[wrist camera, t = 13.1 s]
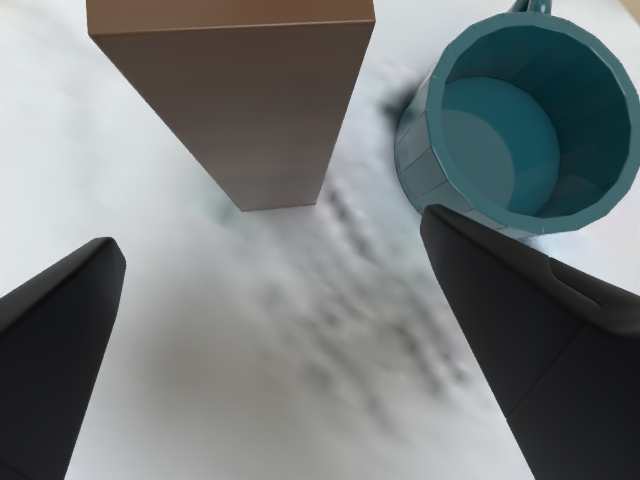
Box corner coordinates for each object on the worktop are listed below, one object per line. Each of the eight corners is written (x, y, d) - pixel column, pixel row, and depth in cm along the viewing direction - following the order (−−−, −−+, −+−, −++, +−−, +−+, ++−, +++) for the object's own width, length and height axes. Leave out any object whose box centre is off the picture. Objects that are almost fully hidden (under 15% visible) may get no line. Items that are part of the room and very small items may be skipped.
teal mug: (552, 258, 18) (635, 254, 14) (380, 222, 18) (409, 206, 13) (575, 49, 20) (657, -15, 15) (416, 10, 19) (454, -69, 15)
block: (315, 204, 18) (377, 22, 5) (241, 211, 17) (85, 35, 4) (307, 134, 18) (343, -218, 5) (234, 139, 18) (71, -225, 5)
